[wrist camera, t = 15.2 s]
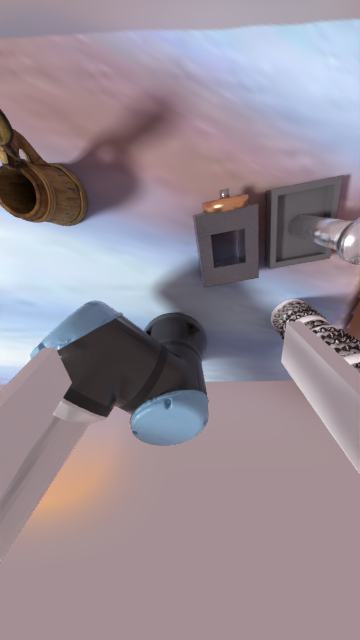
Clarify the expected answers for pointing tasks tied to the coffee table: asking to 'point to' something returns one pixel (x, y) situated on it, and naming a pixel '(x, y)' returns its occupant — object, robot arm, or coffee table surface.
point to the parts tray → (290, 203)
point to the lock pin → (330, 234)
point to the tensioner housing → (224, 219)
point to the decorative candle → (317, 328)
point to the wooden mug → (37, 183)
